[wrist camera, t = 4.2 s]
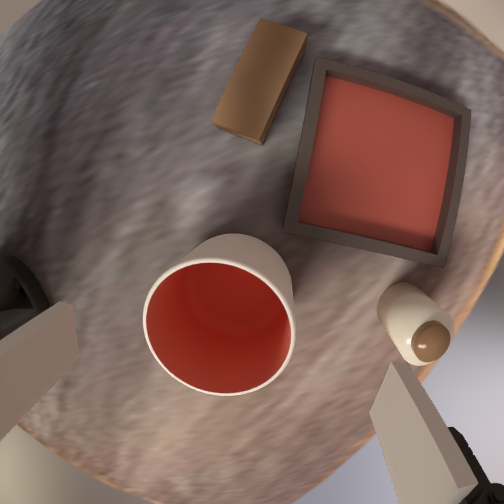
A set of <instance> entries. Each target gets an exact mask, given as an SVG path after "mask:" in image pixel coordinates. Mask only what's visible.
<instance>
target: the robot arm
mask: <svg viewBox="0 0 504 504" xmlns="http://www.w3.org/2000/svg"><path fill="white" fill-rule="evenodd" d="M78 360H79V354H78V346H77V338H76V328H75V317H74V305H71V304H68V303H64V302H61V301H60V302H58V303H56V304H55V305H53V306H52V307H50V308H49V305H48V302H47V299H46V297H45V295H44V293H43V291H42V289H41V287H40V285H39V283H38V282H37V280H36V279H35V277H34V276H33V274H32V273H31V272H30V271H29V270H28V268H27V267H26V266H25V265H24V264H22V263H21V262H20V261H19V260H17V259H15V258H13V257H11V256H7V255H2V256H0V441H1V440H2V439H3V438H4V437H5V436H6V434H7V433H8V432H9V431H10V430H11V429H12V428H13V427H14V426H15V425H16V424H17V423H18V422H19V420H20V419H21V418H22V417H23V416H24V415H25V414H26V413H27V412H28V411H29V410H30V409H31V408H32V407H33V406H34V405H35V404H36V403H37V402H38V400H39V399H40V398H41V397H42V396H43V395H44V394H45V393H46V392H47V391H48V390H49V389H50V388H51V387H52V386H53V385H54V384H55V383H56V382H57V381H58V380H59V379H60V378H61V377H62V376H63V375H64V374H65V373H66V372H67V371H68V370H69V369H70V368H71V367H72V366H73V365H74V364H75V363H76V362H77V361H78ZM369 414H370V417H371V419H372V422H373V425H374V428H375V431H376V434H377V437H378V440H379V443H380V446H381V448H382V452H383V455H384V458H385V461H386V464H387V467H388V470H389V473H390V476H391V480H392V483H393V486H394V489H395V493H396V496H397V499H398V502H399V504H504V485H502V484H498V483H492V484H491V483H490V482H489V480H488V478H487V476H486V474H485V473H484V471H483V469H482V467H481V466H480V464H479V462H478V460H477V459H476V457H475V455H473V452H472V450H471V448H470V447H468V443H467V442H466V440H465V438H464V437H463V435H462V434H460V433H459V432H458V431H457V430H456V429H455V428H454V427H447V426H446V424H445V422H444V421H443V419H442V417H441V416H440V414H439V412H438V411H437V409H436V408H435V406H434V404H433V403H432V401H431V399H430V398H429V396H428V394H427V393H426V391H425V390H424V388H423V386H422V385H421V383H420V382H419V380H418V379H417V377H416V375H415V374H414V372H413V371H412V369H411V368H410V366H409V365H408V363H407V362H391V363H390V366H389V368H388V371H387V373H386V376H385V378H384V381H383V383H382V385H381V388H380V390H379V392H378V395H377V397H376V399H375V401H374V404H373V406H372V408H371V410H370V412H369Z"/></svg>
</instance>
